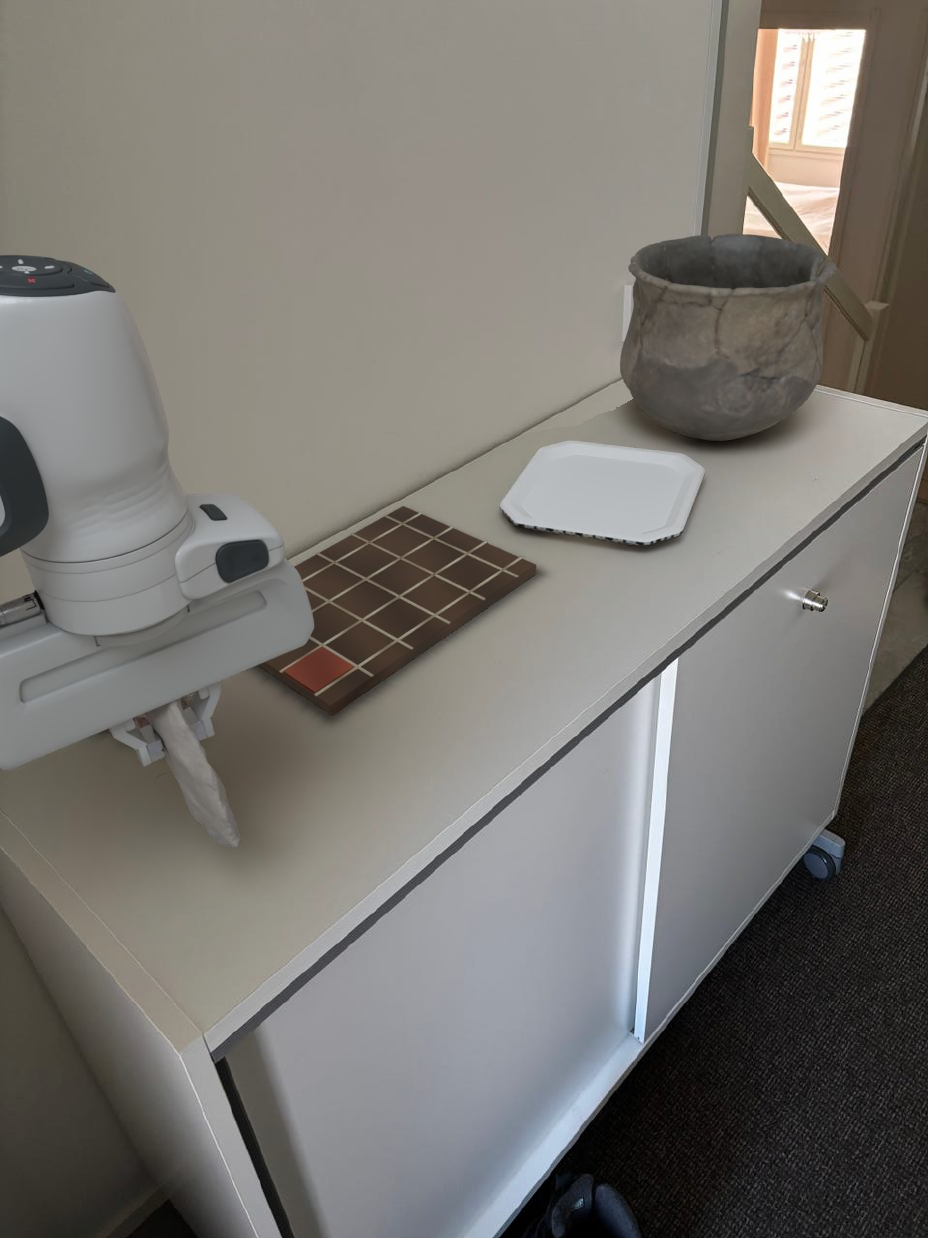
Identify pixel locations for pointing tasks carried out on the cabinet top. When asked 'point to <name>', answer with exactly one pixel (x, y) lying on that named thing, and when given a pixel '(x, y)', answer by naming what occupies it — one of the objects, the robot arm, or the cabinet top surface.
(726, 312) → the pot
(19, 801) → the cabinet top surface
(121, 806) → the cabinet top surface
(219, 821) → the stone tool
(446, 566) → the board
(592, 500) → the plate
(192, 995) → the cabinet top surface
